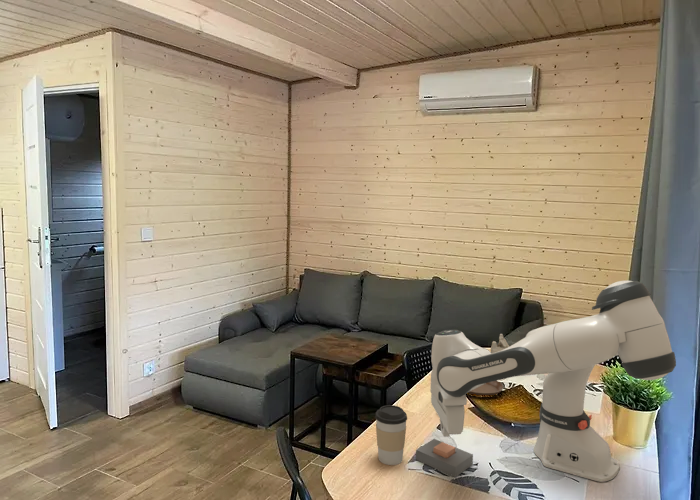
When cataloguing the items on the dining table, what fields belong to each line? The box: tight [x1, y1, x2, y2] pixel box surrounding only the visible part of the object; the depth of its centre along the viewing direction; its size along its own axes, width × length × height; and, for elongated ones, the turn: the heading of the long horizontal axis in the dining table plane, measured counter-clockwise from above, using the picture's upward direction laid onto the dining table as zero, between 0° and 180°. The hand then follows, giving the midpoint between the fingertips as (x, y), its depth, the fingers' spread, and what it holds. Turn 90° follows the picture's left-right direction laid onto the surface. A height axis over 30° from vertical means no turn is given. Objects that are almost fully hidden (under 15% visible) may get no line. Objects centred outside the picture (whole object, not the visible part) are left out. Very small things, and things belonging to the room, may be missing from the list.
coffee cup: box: [375, 404, 408, 466], centre depth 146 cm, size 9×9×15 cm
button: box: [433, 441, 456, 458], centre depth 145 cm, size 4×4×3 cm
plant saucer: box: [468, 380, 504, 395], centre depth 197 cm, size 18×18×3 cm
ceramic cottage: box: [490, 333, 510, 353], centre depth 217 cm, size 16×16×15 cm
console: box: [415, 438, 474, 478], centre depth 145 cm, size 13×9×3 cm
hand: (445, 434), depth 144 cm, fingers closed
